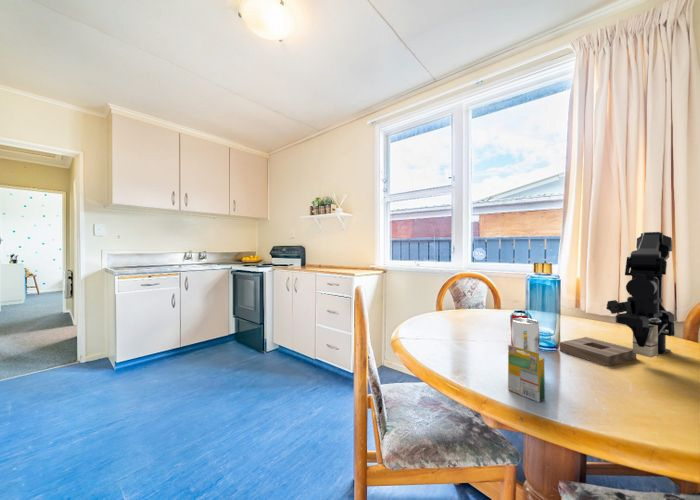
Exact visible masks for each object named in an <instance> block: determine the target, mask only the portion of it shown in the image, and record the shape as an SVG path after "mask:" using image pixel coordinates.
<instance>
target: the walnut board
mask: <svg viewBox="0 0 700 500" xmlns="http://www.w3.org/2000/svg"><path fill="white" fill-rule="evenodd" d="M559 352H563V353H565V354H569V355H572V356H576V357H578V358H582V359H583V360H584V359H585V360H588V361H592V362H594V363H597V364H600V365H603V366H607V367H611V366H614V365H618V364H622V363H625V362H630V361H633V360H636V359H637V354H635V353H633V347H632V348H631V347H627V346H625V345H620V344H616V343H612V342H608V341H604V340H601V339H596V338H593V337H588V336H584V337H580V338H575V339H568V340H564V341H559Z"/></svg>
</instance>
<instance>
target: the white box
mask: <svg viewBox="0 0 700 500" xmlns="http://www.w3.org/2000/svg"><path fill="white" fill-rule="evenodd" d="M512 320H513V321H512V342H513V346H514V347H518V348H521V349H525V350H528V351H532V352H536V353H539V348H540V339H541V338H540V337H541V336H540V335H541V334H540V326H539V325H540V321H539V320H536V319H533V318H532V319H531V318H514V319H512ZM517 351H518V352H521V353H525V354H528V355H530V354H529V353H526V352H524V351H519V350H517Z"/></svg>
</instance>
